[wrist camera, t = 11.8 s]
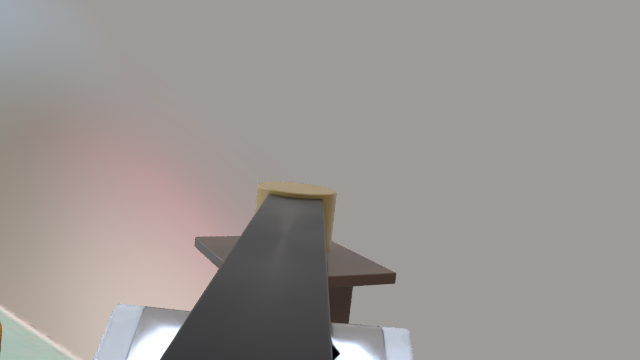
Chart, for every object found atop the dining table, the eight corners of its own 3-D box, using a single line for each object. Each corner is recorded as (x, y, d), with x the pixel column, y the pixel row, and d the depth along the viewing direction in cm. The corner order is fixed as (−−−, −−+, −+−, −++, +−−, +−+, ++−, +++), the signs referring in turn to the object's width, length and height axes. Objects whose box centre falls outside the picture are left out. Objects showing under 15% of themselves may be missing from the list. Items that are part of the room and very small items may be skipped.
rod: (256, 235, 27) (261, 178, 27) (329, 242, 27) (335, 186, 27) (94, 543, 8) (107, 346, 7) (357, 567, 8) (382, 373, 7)
